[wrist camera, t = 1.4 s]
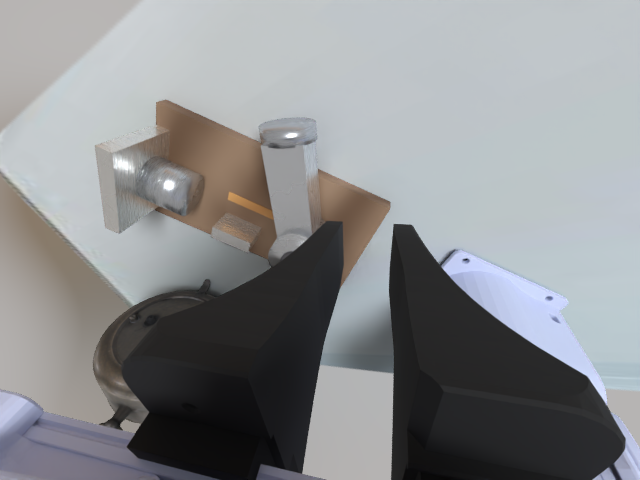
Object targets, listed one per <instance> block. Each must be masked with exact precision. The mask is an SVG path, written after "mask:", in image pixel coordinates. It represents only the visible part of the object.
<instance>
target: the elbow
mask: <svg viewBox="0 0 640 480" xmlns="http://www.w3.org/2000/svg"><path fill="white" fill-rule="evenodd" d="M259 132H260V138H261V143H262V145H261V151H262V156H263V162H264V167H265V173H266V178H267V184H268V189H269V195H270V200H271V206H272V211H273V217H274V222H275V228H276V233H277V238H276V240H275V242H274V243H273V245H272V247H271V248H270V250H269V254H268V260H269V263H270V266H271V267H273V266H275V265H276V264H278V263H279V262H280V261H282V260H283V259H284V258H286V257H287V256H288V255H289V254H291V253H292V252H293V251H294V250H296V249H297V248H298V247H299V246H300V245H301V244H302V243H304V242H305V241H306V240H307V239H308V238H309V237H310V236H311V235H312V234H313V233H314V232H315V231H316V230H318V229H319V228H320V227H321V226H322V225H323V224H324V223H325V221H324V220H323V219H322V218H321V207H320V193H319V180H318V166H317V153H316V140H317V129H316V121H315V120H314V119H310V118H284V119H277V120H272V121H268V122H265V123H263V124H261V125H259Z"/></svg>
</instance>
